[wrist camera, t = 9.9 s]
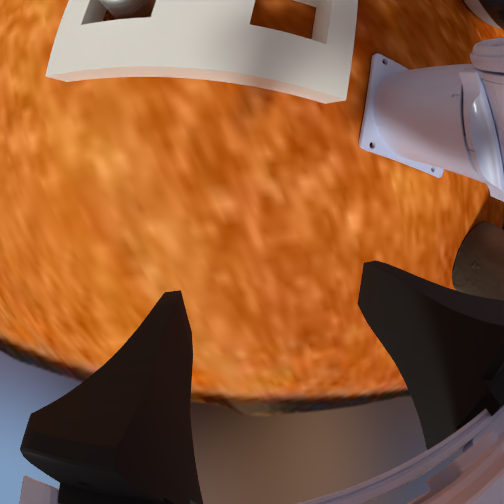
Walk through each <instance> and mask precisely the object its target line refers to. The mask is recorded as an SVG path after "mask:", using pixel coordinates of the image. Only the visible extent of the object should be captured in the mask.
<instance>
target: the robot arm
mask: <svg viewBox="0 0 504 504" xmlns="http://www.w3.org/2000/svg"><path fill="white" fill-rule="evenodd" d="M469 57H470V59H471V62H472V64H456V65H444V66H434V67H426V68H419V69H412V70H409V69H407V68H406V67H404V66H402V65H400V64H398V63H397V62H395V61H393V60H391V59H389V58H387V57H385V56H383V55H381V54H378V53H377V54H374V55H373V56H372V61H371V69H370V77H369V85H368V91H367V98H366V104H365V111H364V117H363V122H362V128H361V133H360V138H359V146H360V148H361V149H363V150H366V151H369V152H372V153H375V154H378V155H381V156H384V157H387V158H390V159H392V160H395V161H398V162H401V163H403V164H406V165H408V166H411V167H413V168H416V169H418V170H421V171H423V172H426V173H428V174H430V175H433V176H435V177H438V178H440V177H441V176H442V174H443V170H444V169H445V170H448V171H451V172H455V173H458V174H461V175H464V176H467V177H469V178H472V179H475V180H478V181H481V182H483V183H486V184H487V185H488V187H489V190H490V195H491V197H494V198H496V199H498V200H500V201H503V202H504V37H503V38H495V39H489V40H484V41H481V42H478V43H476V44H475V45H474V47H473V50H472V52H471V53H470V55H469ZM382 60H383V61H384V62H385V64H383V62H382ZM371 142H372V148H370V143H371ZM431 168H432V171H431ZM358 305H359V308H360V310H361V312H362V314H363V316H364V317H365V319H366V321H367V323H368V324H369V326H370V327H371V329H372V330H373V332H374V333H375V335H376V336H377V337H378V339H379V340H380V342H381V343H382V344H383V346H384V347H385V349H386V350H387V352H388V353H389V354H390V356H391V357H392V359H393V360H394V362H395V364H396V365H397V367H398V369H399V371H400V373H401V375H402V377H403V379H404V381H405V383H406V385H407V387H408V390H409V392H410V394H411V397H412V399H413V402H414V404H415V407H416V410H417V413H418V416H419V419H420V422H421V426H422V430H423V434H424V438H425V442H426V447H427V449H428V450H427V451H425V452H424V453H422V454H421V455H419V456H417V457H415V458H413V459H412V460H410V461H408V462H406V463H404V464H402V465H400V466H398V467H396V468H394V469H392V470H390V471H388V472H386V473H384V474H381V475H379V476H377V477H374V478H372V479H370V480H367V481H365V482H362V483H360V484H357V485H355V486H352V487H349V488H347V489H344V490H341V491H338V492H335V493H332V494H329V495H325V496H322V497H319V498H315V499H312V500H307V501H303V502H300V503H295V504H365V503H367V502H369V501H372V500H374V499H376V498H379V497H381V496H383V495H385V494H387V493H389V492H391V491H393V490H395V489H397V488H399V487H401V486H403V485H405V484H407V483H409V482H410V481H412V480H414V479H416V478H418V477H419V476H421V475H423V474H424V473H426V472H428V471H429V470H431V469H433V468H434V467H436V466H437V465H439V464H440V463H442V462H443V461H445V460H446V459H448V458H449V457H451V456H452V455H453V454H455V453H456V452H457V451H459V450H460V449H461V448H463V447H464V448H463V454H461V455H460V456H459V457H458V458H456V459H455V460H454V461H453V462H451V463H450V464H449V465H447V466H446V467H445V468H443V469H442V470H441V471H439V472H438V473H436V474H435V475H434V476H432V477H430V478H429V479H428V480H427V484H428V486H429V488H430V491H428V492H427V493H425V494H423V495H422V496H420V497H418V498H417V499H415V500H413V501H411V502H409V503H408V504H504V300H497V299H490V298H484V297H479V296H475V295H470V294H466V293H463V292H459V291H456V290H452V289H449V288H446V287H443V286H441V285H438V284H435V283H433V282H430V281H428V280H425V279H423V278H420V277H418V276H415V275H413V274H411V273H408V272H406V271H403V270H401V269H399V268H396V267H394V266H391V265H388V264H386V263H383V262H379V261H371V262H366V263H364V265H363V273H362V280H361V286H360V293H359V299H358ZM192 363H193V345H192V331H191V328H190V324H189V321H188V317H187V313H186V309H185V305H184V301H183V297H182V293H181V291H173V292H165V293H164V294H163V295H162V297H161V298H160V299H159V301H158V302H157V303H156V305H155V306H154V308H153V309H152V310H151V312H150V313H149V314H148V316H147V317H146V318H145V320H144V321H143V322H142V324H141V325H140V326H139V328H138V329H137V330H136V331H135V332H134V333H133V335H132V336H131V337H130V338H129V339H128V341H127V342H126V343H125V344H124V345H123V346H122V347H121V348H120V350H119V351H118V352H117V353H116V354H115V355H114V356H113V357H112V358H111V359H110V360H109V361H108V362H106V363H105V364H104V365H103V366H102V367H101V368H100V369H98V370H97V371H96V372H95V373H94V374H92V375H91V376H90V377H89V378H88V379H86V380H85V381H84V382H83V383H81V384H80V385H79V386H77V387H76V388H74V389H73V390H72V391H70V392H69V393H67V394H66V395H64V396H63V397H61V398H59V399H58V400H56V401H54V402H53V403H51V404H49V405H47V406H45V407H43V408H42V409H40V410H38V411H36V412H34V413H32V414H31V415H30V418H29V421H28V424H27V428H26V430H25V434H24V437H23V440H22V444H21V447H20V450H21V453H22V454H23V456H24V457H25V458H26V459H27V460H28V461H29V462H30V463H31V464H33V465H34V466H36V467H37V468H38V469H40V470H41V471H43V472H44V473H46V474H47V475H49V476H50V477H52V478H54V479H55V480H57V481H59V482H60V488H59V490H58V489H56V488H54V487H52V486H49V485H47V484H44V483H42V482H39V481H37V480H34V479H32V478H29V477H27V476H24V478H23V483H22V489H21V496H20V503H19V504H203V501H202V496H201V492H200V486H199V481H198V475H197V470H196V463H195V457H194V448H193V440H192V430H191V419H190V397H191V379H192Z"/></svg>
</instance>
